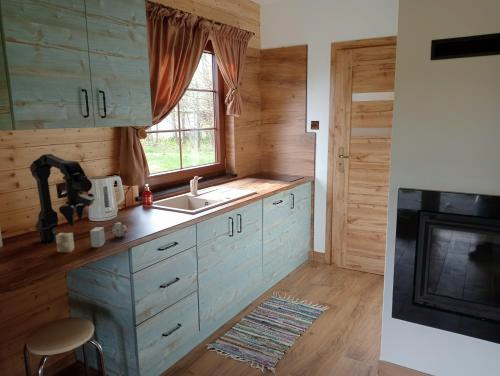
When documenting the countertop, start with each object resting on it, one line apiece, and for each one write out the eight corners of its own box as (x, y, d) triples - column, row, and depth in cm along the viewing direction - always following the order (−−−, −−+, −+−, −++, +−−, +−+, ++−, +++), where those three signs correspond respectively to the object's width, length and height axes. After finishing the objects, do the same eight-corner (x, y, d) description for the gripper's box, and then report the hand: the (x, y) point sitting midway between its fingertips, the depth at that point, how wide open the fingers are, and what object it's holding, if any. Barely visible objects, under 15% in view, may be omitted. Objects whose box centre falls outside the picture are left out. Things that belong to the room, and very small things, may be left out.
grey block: (100, 247, 194) (98, 231, 193) (91, 247, 195) (90, 231, 193) (105, 242, 200) (103, 227, 199) (97, 242, 201) (95, 227, 199)
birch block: (57, 252, 188) (55, 235, 187) (62, 249, 192) (60, 232, 191) (70, 252, 188) (68, 235, 187) (74, 249, 192) (72, 232, 190)
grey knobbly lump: (119, 242, 211) (119, 224, 216) (131, 238, 208) (131, 220, 212) (105, 239, 204) (106, 220, 208) (118, 234, 201) (119, 215, 205)
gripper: (82, 193, 176) (85, 228, 179) (98, 185, 194) (101, 217, 197) (56, 194, 176) (60, 229, 179) (75, 185, 194) (78, 217, 197)
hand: (76, 222), depth 188 cm, fingers open, 9 cm apart
